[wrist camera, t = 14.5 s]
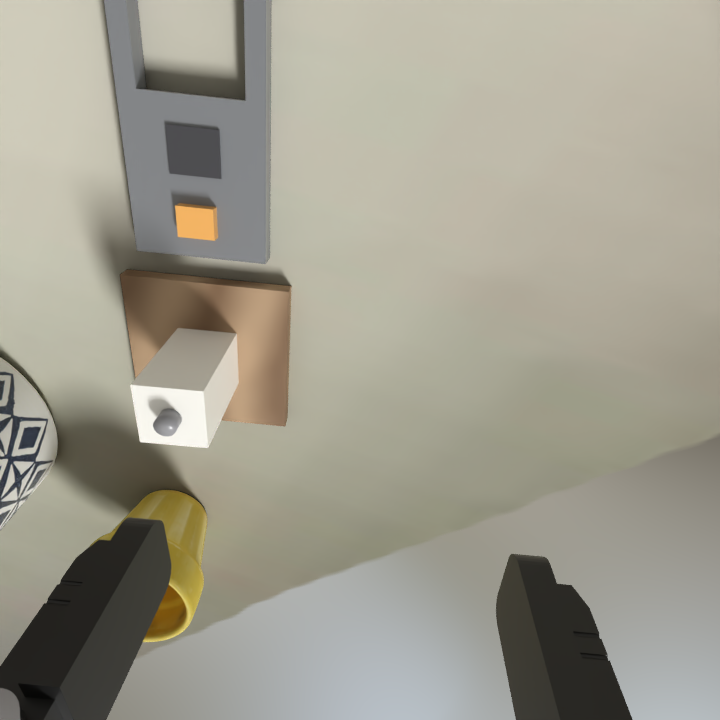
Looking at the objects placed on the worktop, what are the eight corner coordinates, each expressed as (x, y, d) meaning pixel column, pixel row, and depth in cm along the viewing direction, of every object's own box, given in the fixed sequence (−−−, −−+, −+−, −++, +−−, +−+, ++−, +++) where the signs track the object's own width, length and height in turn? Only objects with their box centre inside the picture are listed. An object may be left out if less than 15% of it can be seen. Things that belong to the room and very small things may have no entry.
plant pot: (101, 516, 48) (42, 609, 39) (150, 456, 44) (95, 544, 35) (192, 562, 51) (155, 658, 42) (245, 510, 47) (216, 603, 38)
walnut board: (291, 286, 35) (288, 292, 34) (287, 417, 41) (285, 426, 40) (127, 269, 35) (119, 274, 34) (146, 404, 41) (140, 412, 40)
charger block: (236, 333, 36) (198, 400, 28) (238, 382, 38) (203, 458, 30) (178, 327, 36) (122, 393, 28) (183, 377, 38) (133, 452, 30)
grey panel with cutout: (271, -77, 25) (263, -91, 23) (269, 257, 34) (263, 267, 32) (104, -97, 25) (81, -113, 23) (146, 244, 34) (131, 254, 32)
